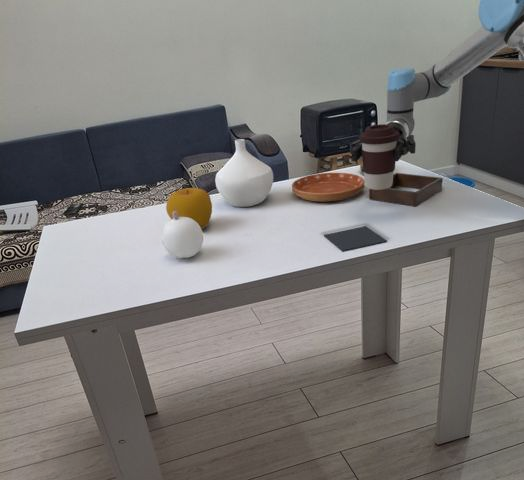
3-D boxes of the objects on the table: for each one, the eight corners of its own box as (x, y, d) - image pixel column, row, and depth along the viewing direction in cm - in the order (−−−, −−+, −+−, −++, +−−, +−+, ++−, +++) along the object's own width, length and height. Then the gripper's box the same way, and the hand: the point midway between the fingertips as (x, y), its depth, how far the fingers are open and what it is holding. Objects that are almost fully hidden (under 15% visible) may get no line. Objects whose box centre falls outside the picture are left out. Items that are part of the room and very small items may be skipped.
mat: (365, 227, 144) (365, 225, 144) (386, 242, 134) (387, 240, 134) (324, 236, 142) (324, 234, 141) (342, 251, 132) (342, 250, 132)
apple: (212, 235, 151) (205, 194, 145) (167, 238, 152) (159, 198, 146) (218, 219, 162) (212, 181, 156) (176, 222, 163) (168, 185, 157)
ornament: (158, 259, 140) (148, 215, 133) (187, 246, 146) (178, 202, 139) (185, 267, 134) (176, 221, 127) (213, 252, 140) (206, 207, 133)
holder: (441, 191, 162) (442, 177, 160) (415, 206, 153) (416, 192, 151) (395, 185, 172) (396, 172, 170) (369, 199, 163) (369, 186, 161)
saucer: (340, 178, 184) (340, 167, 182) (378, 194, 166) (379, 182, 164) (280, 192, 178) (279, 181, 176) (313, 210, 159) (313, 198, 157)
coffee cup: (377, 194, 138) (377, 133, 130) (352, 187, 146) (351, 128, 138) (405, 185, 142) (408, 125, 134) (380, 178, 150) (380, 121, 141)
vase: (231, 193, 183) (223, 134, 173) (282, 193, 177) (277, 132, 166) (209, 211, 169) (199, 148, 158) (264, 212, 163) (257, 146, 152)
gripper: (432, 148, 150) (420, 171, 134) (354, 149, 159) (332, 170, 142) (434, 120, 146) (421, 139, 130) (353, 122, 155) (331, 141, 138)
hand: (375, 155), depth 136 cm, fingers closed on coffee cup, 10 cm apart
